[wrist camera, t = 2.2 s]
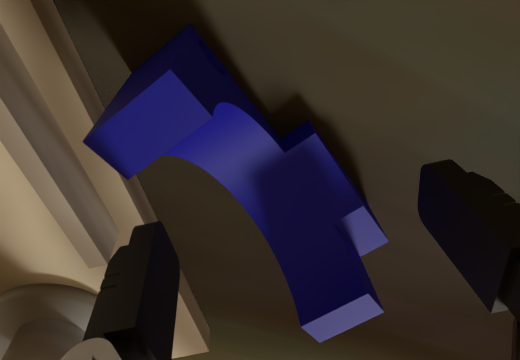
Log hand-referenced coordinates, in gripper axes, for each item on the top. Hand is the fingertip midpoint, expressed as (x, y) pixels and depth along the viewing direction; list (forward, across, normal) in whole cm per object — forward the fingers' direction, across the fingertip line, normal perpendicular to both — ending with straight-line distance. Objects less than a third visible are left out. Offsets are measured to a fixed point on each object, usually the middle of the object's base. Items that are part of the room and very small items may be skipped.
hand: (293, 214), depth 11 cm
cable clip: (+6, 0, +1) cm, 6 cm away
